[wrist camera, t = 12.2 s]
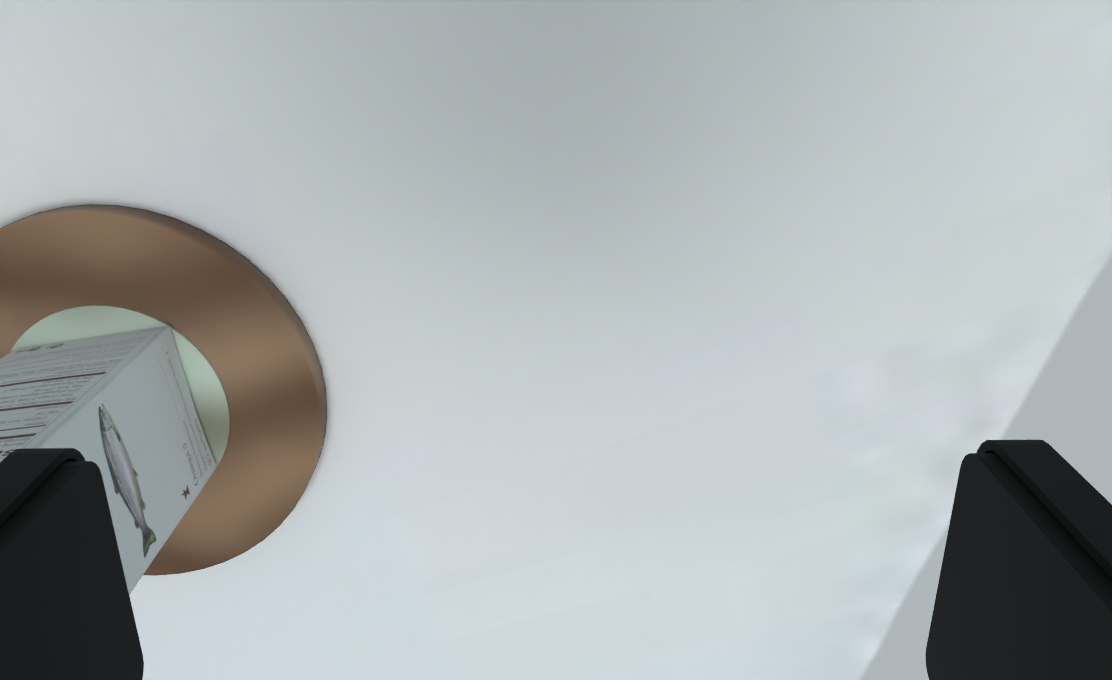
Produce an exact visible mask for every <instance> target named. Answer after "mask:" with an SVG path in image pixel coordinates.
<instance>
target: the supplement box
mask: <svg viewBox="0 0 1112 680" xmlns="http://www.w3.org/2000/svg"><path fill="white" fill-rule="evenodd" d="M24 448H75V449H76V450H78V451H80V452H81V454H82V455H83V457H84V458H85V461H93V462H94V463H96V464H97V465H98V467H99V468H100V471H101V474H102V478H103V482H104V486H105V491H106V495H107V500H108V504H109V509H110V513H111V517H112V522H113V526H114V531H115V535H116V540H117V544H118V548H119V553H120V557H121V562H122V566H123V571H124V575H125V579H126V584H127V588H128V593H129V595H130V593H131V592H132V590H133V589H134V587H135V586H136V584H137V583H138V581H139V580H140V578H141V577H142V576H143V574H144V573H145V571H146V570H147V568H148V567H149V565H150V564H151V562H152V561H153V560H154V558H155V557H156V555H157V554H158V552H159V551H160V549H161V548H162V546H163V545H164V544H165V542H166V541H167V539H168V538H169V536H170V535H171V533H172V532H173V530H174V529H175V528H176V526H177V525H178V523H179V522H180V520H181V519H182V517H183V516H184V515H185V513H186V512H187V510H188V509H189V507H190V506H191V504H192V503H193V502H194V500H195V499H196V497H197V496H198V494H199V493H200V491H201V490H202V488H203V487H204V485H205V484H206V483H207V481H208V480H209V478H210V477H211V475H212V474H213V473H214V471H215V469H216V463H215V461H214V458H213V456H212V454H211V451H210V449H209V446H208V443H207V441H206V438H205V436H204V433H203V430H202V427H201V424H200V422H199V419H198V416H197V413H196V410H195V407H194V404H193V401H192V398H191V395H190V392H189V388H188V385H187V382H186V379H185V376H184V373H183V370H182V366H181V363H180V360H179V356H178V353H177V350H176V346H175V343H174V339H173V336H172V332H171V329H170V327H160V328H155V329H147V330H140V331H134V332H127V333H120V334H114V335H107V336H99V337H93V338H86V339H80V340H73V341H66V342H59V343H53V344H46V345H41V346H33V347H26V348H20V349H15V350H13V351H12V352H10V353H9V354H7V355H6V356H4V357H3V358H1V359H0V462H1V461H2V460H3V459H4V458H6V457H7V456H8V455H9V454H10V453H11V452H13V451H15V450H16V449H24Z"/></svg>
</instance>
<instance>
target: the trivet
mask: <svg viewBox="0 0 1112 680" xmlns="http://www.w3.org/2000/svg"><path fill="white" fill-rule="evenodd" d="M160 327H170V329H171V332H172V336H173V339H174V343H175V346H176V350H177V353H178V356H179V360H180V363H181V366H182V370H183V373H184V376H185V379H186V382H187V385H188V388H189V392H190V395H191V398H192V401H193V404H194V407H195V410H196V413H197V416H198V419H199V422H200V424H201V427H202V430H203V433H204V436H205V438H206V441H207V443H208V446H209V449H210V451H211V454H212V456H213V458H214V461H215V463H216V469H215V471H214V473H213V474H212V475H211V477H210V478H209V480H208V481H207V483H206V484H205V485H204V487H203V488H202V490H201V491H200V493H199V494H198V496H197V497H196V499H195V500H194V502H193V503H192V504H191V506H190V507H189V509H188V510H187V512H186V513H185V515H184V516H183V517H182V519H181V520H180V522H179V523H178V525H177V526H176V528H175V529H174V530H173V532H172V533H171V535H170V536H169V538H168V539H167V541H166V542H165V544H164V545H163V546H162V548H161V549H160V551H159V552H158V554H157V555H156V557H155V558H154V560H153V561H152V562H151V564H150V565H149V567H148V568H147V570H146V571H145V573H144V574H143V575H167V574H180V573H185V572H190V571H195V570H200V569H204V568H207V567H210V566H213V565H217V564H220V563H223V562H225V561H227V560H230V559H232V558H234V557H236V556H238V555H240V554H242V553H244V552H246V551H248V550H249V549H251V548H252V547H254V546H255V545H257V544H258V543H260V542H261V541H263V540H264V539H265V538H266V537H267V536H269V535H270V534H271V533H272V532H273V531H274V530H275V529H277V528H278V527H279V526H280V525H281V523H282V522H283V521H284V520H285V519H286V518H287V516H288V515H289V514H290V513H291V512H292V510H293V509H294V507H295V506H296V504H297V503H298V501H299V499H300V498H301V496H302V494H303V493H304V491H305V489H306V487H307V485H308V483H309V480H310V478H311V476H312V474H313V471H314V469H315V467H316V464H317V462H318V459H319V457H320V454H321V450H322V446H323V442H324V438H325V432H326V420H327V402H326V389H325V384H324V379H323V374H322V369H321V365H320V362H319V360H318V357H317V354H316V351H315V348H314V345H313V343H312V341H311V339H310V337H309V335H308V333H307V331H306V329H305V327H304V325H303V323H302V321H301V320H300V318H299V317H298V315H297V314H296V312H295V311H294V309H293V308H292V306H291V305H290V303H289V302H288V300H287V299H286V298H285V297H284V296H283V294H282V293H281V292H280V291H279V290H278V289H277V287H276V286H275V285H274V284H273V283H272V282H271V281H270V279H269V278H268V277H266V276H265V275H264V274H263V273H262V272H261V271H260V270H259V269H258V268H257V267H256V266H254V265H253V264H252V263H251V262H250V261H249V260H248V259H246V258H245V257H244V256H242V255H241V254H239V253H238V252H237V251H235V250H234V249H232V248H231V247H230V246H228V245H227V244H226V243H224V242H222V241H220V240H218V239H217V238H215V237H213V236H211V235H210V234H208V233H206V232H204V231H202V230H201V229H198V228H196V227H194V226H191V225H189V224H186V223H184V222H182V221H179V220H177V219H174V218H171V217H168V216H164V215H161V214H158V213H154V212H151V211H147V210H142V209H136V208H130V207H123V206H114V205H80V206H69V207H61V208H57V209H53V210H48V211H44V212H40V213H36V214H34V215H31V216H29V217H26V218H24V219H21V220H18V221H16V222H13V223H11V224H9V225H7V226H5V227H3V228H1V229H0V359H1V358H3V357H4V356H6V355H7V354H9V353H10V352H12V351H13V350H15V349H20V348H26V347H33V346H41V345H46V344H53V343H59V342H66V341H73V340H80V339H86V338H93V337H99V336H107V335H114V334H120V333H127V332H134V331H140V330H147V329H155V328H160Z"/></svg>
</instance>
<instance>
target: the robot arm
mask: <svg viewBox="0 0 1112 680" xmlns="http://www.w3.org/2000/svg"><path fill="white" fill-rule="evenodd" d="M143 666H144V662H143V655H142V650H141V646H140V642H139V637H138V633H137V628H136V624H135V619H134V615H133V611H132V606H131V602H130V597H129V593H128V588H127V584H126V579H125V575H124V571H123V566H122V562H121V557H120V553H119V548H118V544H117V540H116V535H115V531H114V526H113V522H112V517H111V513H110V509H109V504H108V500H107V495H106V491H105V486H104V482H103V478H102V474H101V471H100V468H99V467H98V465H97V464H96V463H94V462H93V461H85V458H84V457H83V455H82V454H81V452H80V451H78V450H76V449H75V448H24V449H16V450H15V451H13V452H11V453H10V454H9V455H8V456H7V457H6V458H4V459H3V460H2V461H1V462H0V680H142V677H143ZM926 667H927V673H928V677H929V680H1112V505H1111V504H1110V503H1109V502H1108V501H1107V500H1106V499H1105V498H1104V497H1103V496H1102V495H1101V494H1100V493H1099V492H1098V491H1097V490H1096V489H1095V488H1094V487H1093V486H1092V485H1091V484H1090V483H1089V482H1087V481H1086V480H1085V479H1084V478H1083V477H1082V476H1081V475H1080V474H1079V473H1078V472H1077V471H1076V470H1075V469H1074V468H1073V467H1072V466H1071V465H1070V464H1069V463H1068V462H1067V461H1066V460H1065V459H1063V457H1061V456H1060V454H1058V453H1057V452H1056V451H1055V450H1054V449H1053V448H1052V447H1051V446H1050V445H1049V444H1048V443H1046V442H1044V441H1043V440H987V441H985V442H983V443H982V444H981V446H980V447H979V449H978V450H977V453H971V454H968V455H966V456H965V457H964V459H963V461H962V464H961V467H960V472H959V477H958V483H957V488H956V493H955V499H954V504H953V509H952V515H951V520H950V525H949V530H948V536H947V541H946V547H945V552H944V558H943V562H942V568H941V573H940V578H939V584H938V589H937V594H936V600H935V605H934V611H933V616H932V621H931V627H930V632H929V637H928V642H927V648H926Z"/></svg>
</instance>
